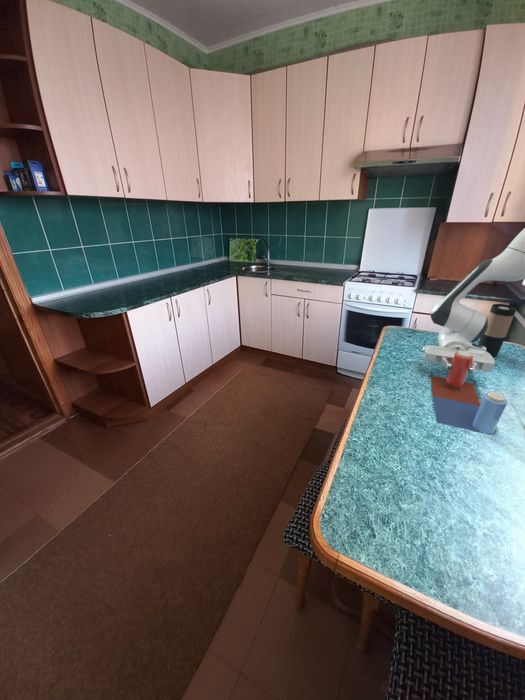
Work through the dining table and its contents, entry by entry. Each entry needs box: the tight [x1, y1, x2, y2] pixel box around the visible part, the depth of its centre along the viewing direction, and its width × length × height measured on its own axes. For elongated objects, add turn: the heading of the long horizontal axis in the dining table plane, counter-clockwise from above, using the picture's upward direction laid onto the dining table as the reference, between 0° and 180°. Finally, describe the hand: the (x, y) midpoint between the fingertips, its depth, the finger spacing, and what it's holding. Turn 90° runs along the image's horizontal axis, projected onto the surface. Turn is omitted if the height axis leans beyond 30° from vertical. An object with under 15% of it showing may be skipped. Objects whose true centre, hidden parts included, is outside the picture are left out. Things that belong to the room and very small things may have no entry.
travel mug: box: [477, 303, 517, 358], centre depth 115 cm, size 8×8×20 cm
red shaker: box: [446, 351, 473, 386], centre depth 94 cm, size 5×5×11 cm
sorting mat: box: [430, 375, 492, 436], centre depth 91 cm, size 13×27×1 cm, turn 156°
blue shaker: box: [472, 391, 508, 435], centre depth 78 cm, size 5×5×11 cm
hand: (460, 369), depth 93 cm, fingers closed on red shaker, 5 cm apart
